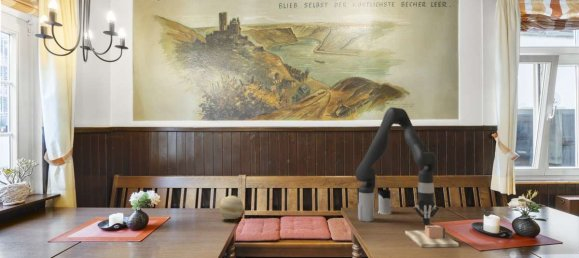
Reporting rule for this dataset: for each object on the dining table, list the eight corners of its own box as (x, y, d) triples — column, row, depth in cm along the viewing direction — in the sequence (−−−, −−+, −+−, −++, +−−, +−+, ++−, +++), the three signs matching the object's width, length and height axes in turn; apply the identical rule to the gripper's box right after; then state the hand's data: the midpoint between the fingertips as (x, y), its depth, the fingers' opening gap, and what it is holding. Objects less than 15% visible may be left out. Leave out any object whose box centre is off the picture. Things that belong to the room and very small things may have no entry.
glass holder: (376, 211, 241) (375, 189, 241) (396, 210, 243) (395, 188, 243) (380, 214, 233) (380, 191, 233) (401, 213, 234) (401, 191, 234)
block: (429, 228, 178) (444, 228, 179) (425, 225, 183) (440, 225, 184) (429, 238, 178) (444, 238, 179) (425, 235, 183) (440, 235, 184)
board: (421, 247, 170) (421, 244, 170) (405, 233, 192) (405, 230, 192) (458, 246, 170) (458, 243, 170) (438, 232, 192) (438, 230, 192)
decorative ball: (214, 220, 225) (214, 196, 225) (232, 215, 236) (232, 192, 236) (229, 224, 215) (229, 199, 215) (248, 218, 226) (248, 195, 226)
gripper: (415, 192, 177) (416, 227, 177) (442, 192, 177) (442, 227, 177) (410, 190, 184) (410, 223, 184) (435, 189, 184) (435, 222, 185)
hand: (426, 225), depth 181 cm, fingers closed
